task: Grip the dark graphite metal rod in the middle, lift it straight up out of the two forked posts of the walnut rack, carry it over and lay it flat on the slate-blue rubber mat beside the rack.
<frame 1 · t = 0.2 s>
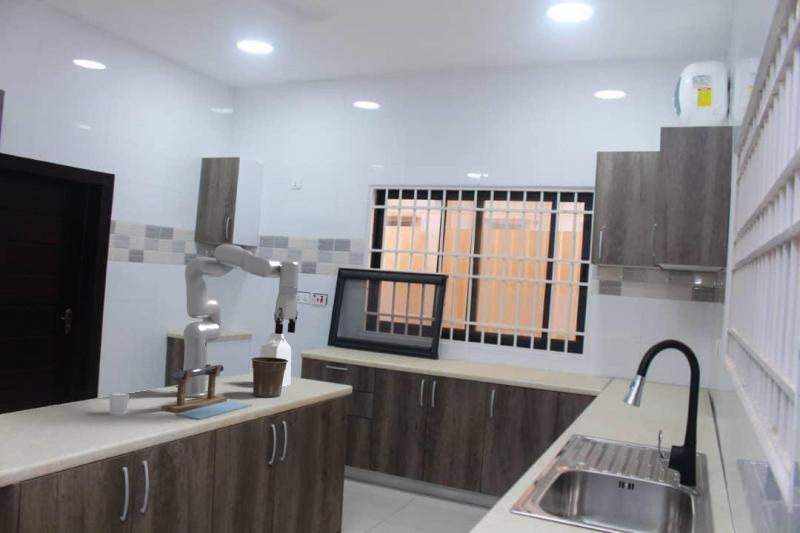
hand: (285, 333, 258), 31 cm above the worktop, tool pointing down, fingers open, 9 cm apart
mat: (215, 410, 248), on the worktop
rack: (195, 405, 254), on the worktop
milk: (273, 385, 310), on the worktop
plant pot: (267, 395, 285), on the worktop
white cup: (118, 413, 232), on the worktop
rod: (197, 375, 254), point 12 cm above the worktop, touching rack
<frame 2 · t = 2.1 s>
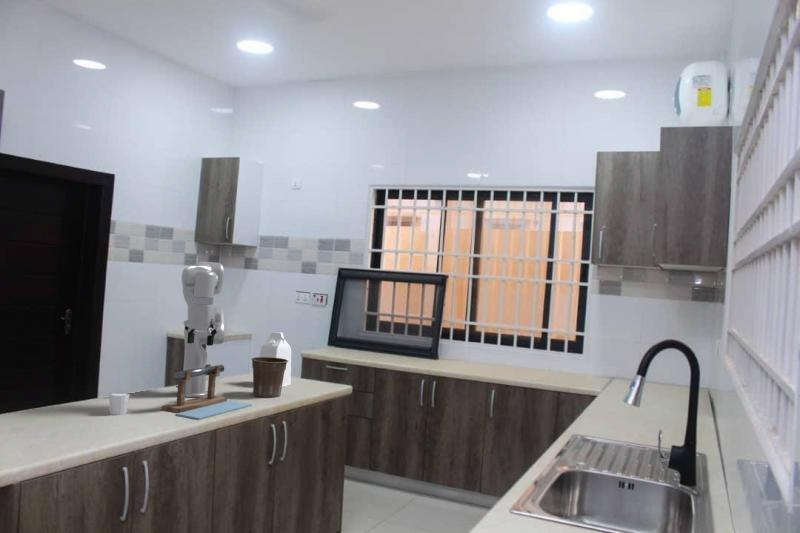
hand: (200, 344, 254), 25 cm above the worktop, tool pointing down, fingers open, 9 cm apart
rod: (197, 375, 254), point 12 cm above the worktop, tilted 19°, touching rack
everything else where it was.
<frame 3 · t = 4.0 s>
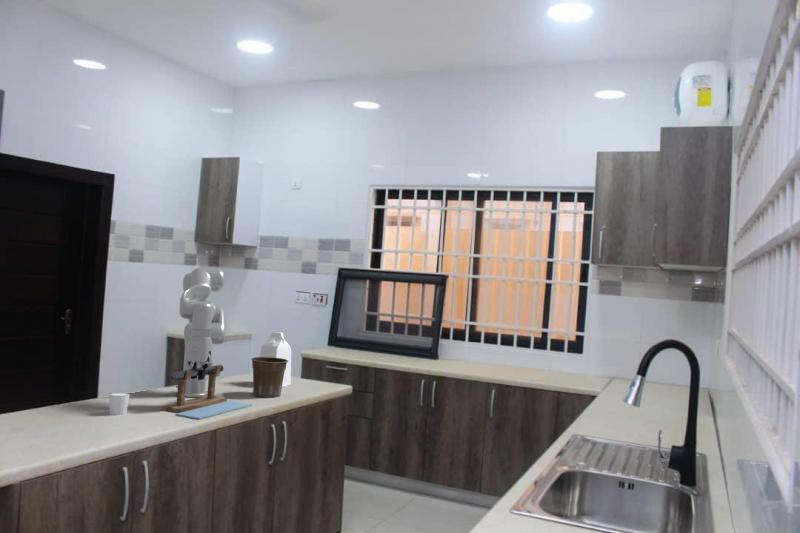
hand: (197, 378, 254), 11 cm above the worktop, tool pointing down, fingers closed on rod, 3 cm apart
rod: (197, 375, 254), point 12 cm above the worktop, touching gripper, rack
everything else where it was.
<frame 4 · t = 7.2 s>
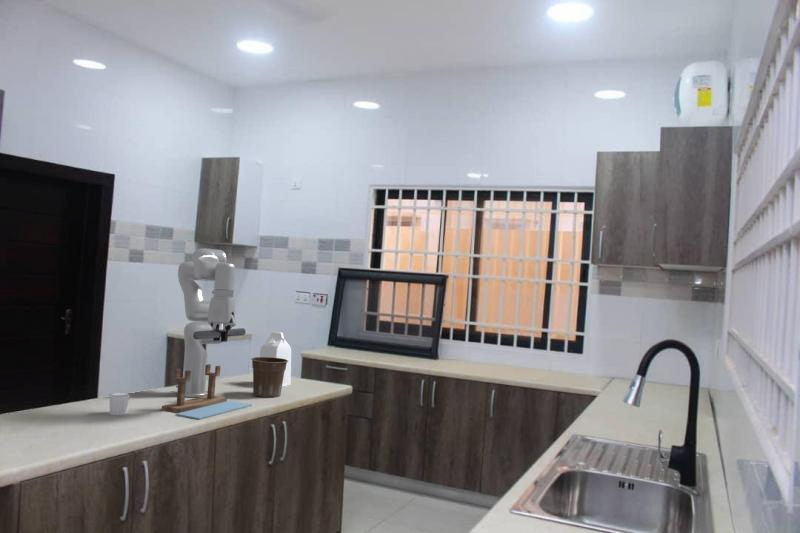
hand: (220, 340, 248), 27 cm above the worktop, tool pointing down, fingers closed on rod, 3 cm apart
rod: (220, 337, 248), point 29 cm above the worktop, touching gripper
everything else where it was.
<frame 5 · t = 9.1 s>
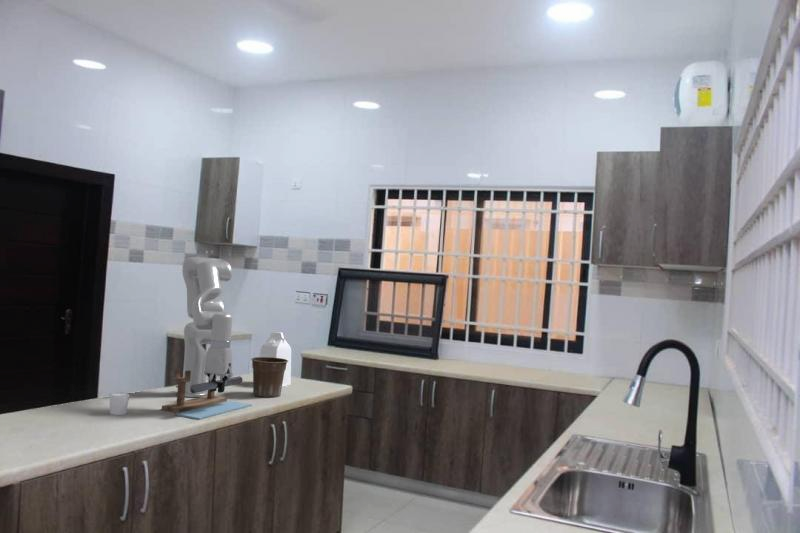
hand: (217, 391, 248), 7 cm above the worktop, tool pointing down, fingers closed on rod, 3 cm apart
rod: (217, 388, 248), point 9 cm above the worktop, touching gripper
everything else where it was.
when the fingers open (2 cm above the worktop, at t = 10.7 s): rod drops 2 cm, resting on mat.
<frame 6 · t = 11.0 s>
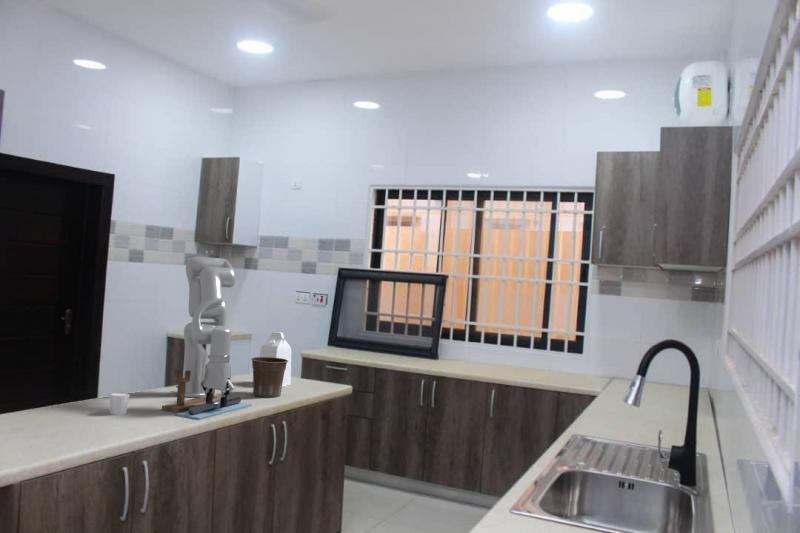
hand: (216, 404, 248), 2 cm above the worktop, tool pointing down, fingers open, 6 cm apart
rod: (215, 408, 248), point 1 cm above the worktop, touching mat
everything else where it was.
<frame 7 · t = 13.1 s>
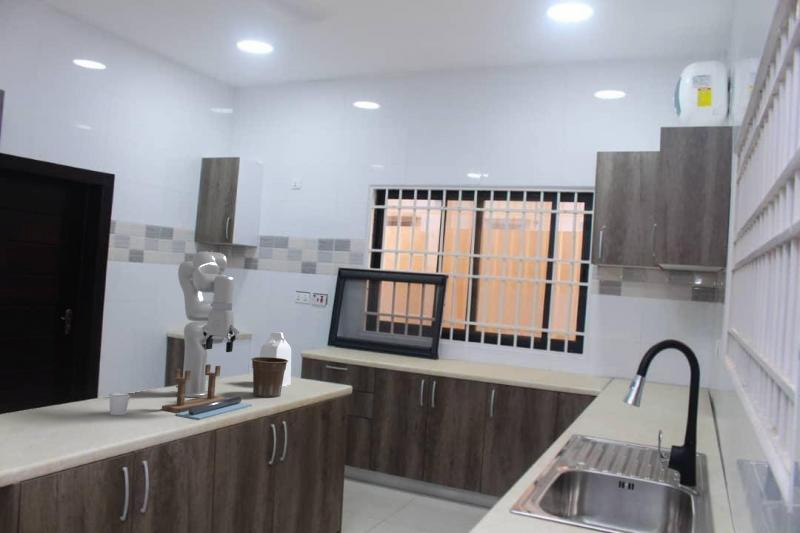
hand: (218, 350, 248), 23 cm above the worktop, tool pointing down, fingers open, 9 cm apart
nothing on the worktop moved.
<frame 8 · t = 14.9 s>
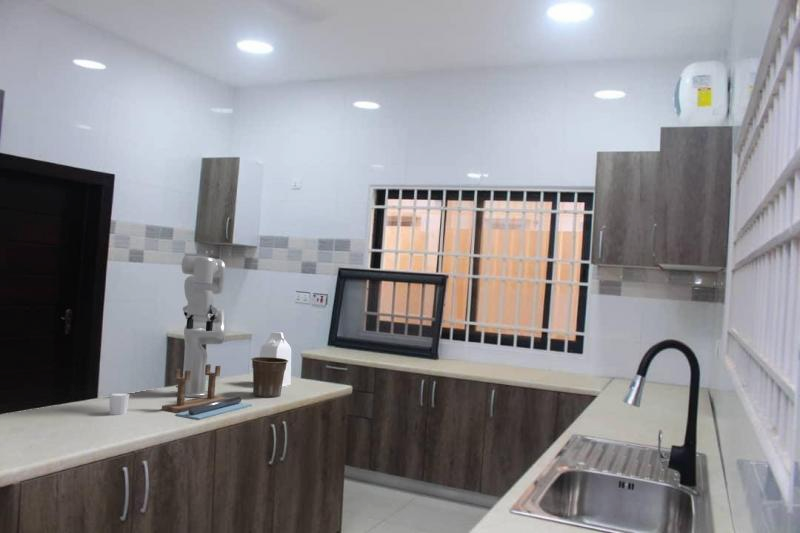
hand: (199, 329, 255), 30 cm above the worktop, tool pointing down, fingers open, 9 cm apart
nothing on the worktop moved.
at the end: rod inside the target area on the mat (0.1 cm from its centre), point 0.6 cm above the mat's base; rod touching mat; the gripper is holding nothing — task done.
